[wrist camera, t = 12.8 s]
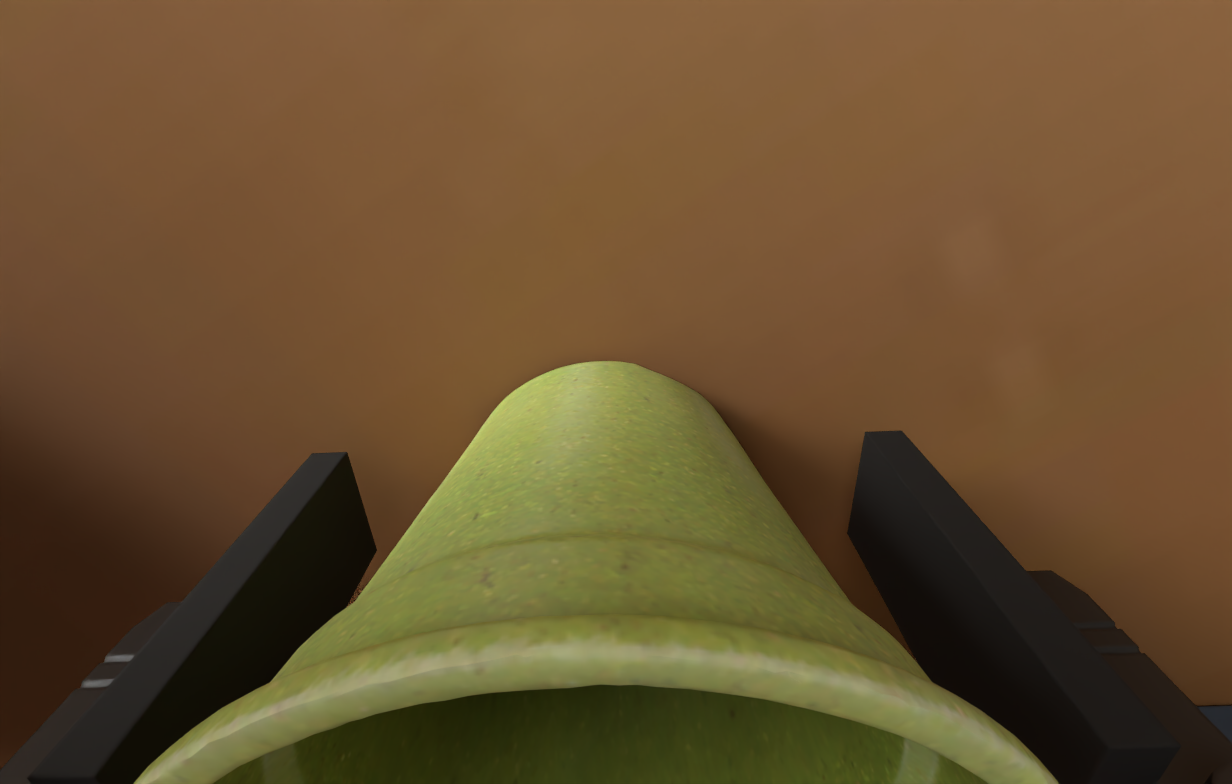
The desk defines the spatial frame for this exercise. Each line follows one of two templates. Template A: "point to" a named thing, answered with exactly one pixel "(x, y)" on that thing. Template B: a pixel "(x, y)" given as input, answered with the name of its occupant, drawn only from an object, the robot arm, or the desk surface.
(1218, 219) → the desk surface
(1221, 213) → the desk surface
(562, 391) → the plant pot
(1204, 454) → the desk surface
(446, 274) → the desk surface
